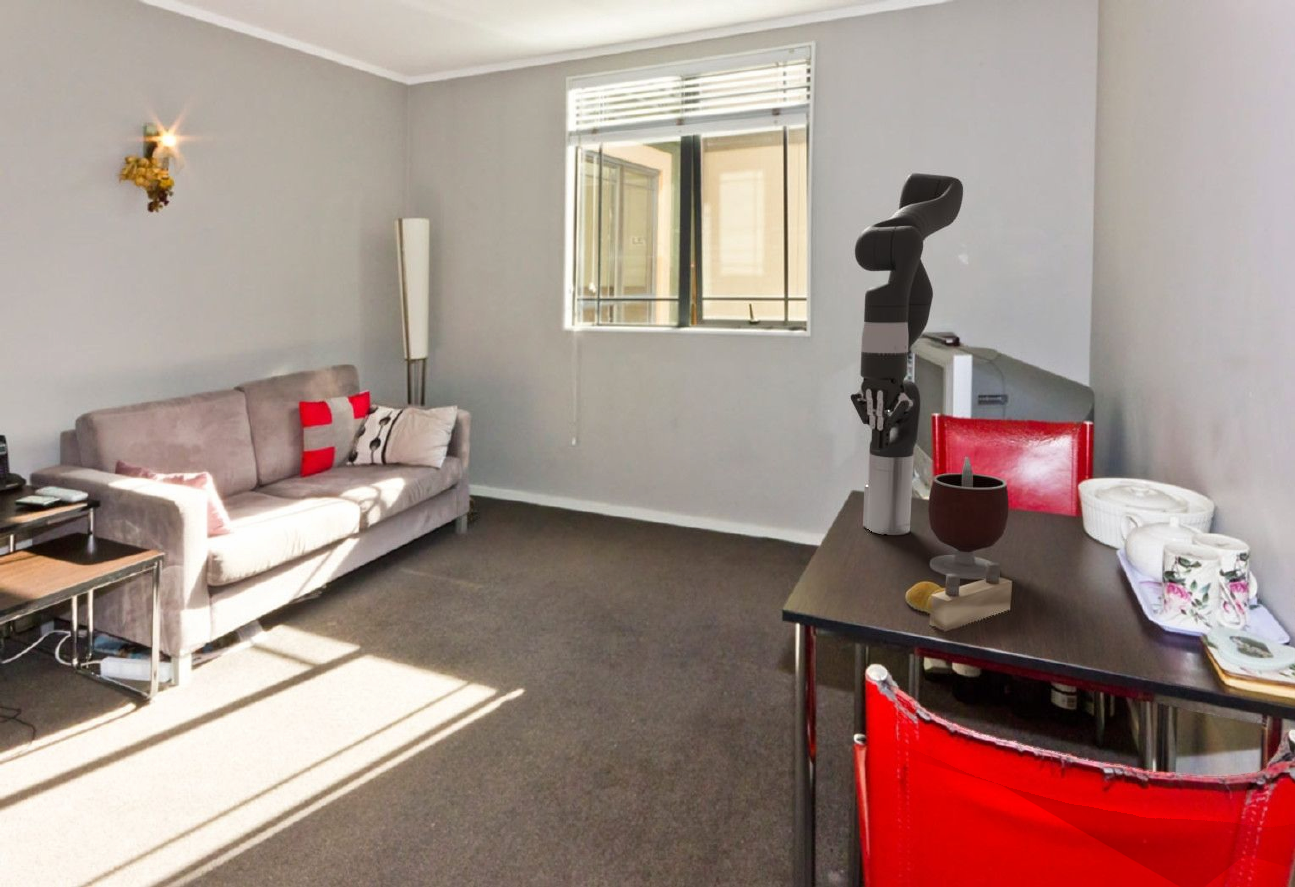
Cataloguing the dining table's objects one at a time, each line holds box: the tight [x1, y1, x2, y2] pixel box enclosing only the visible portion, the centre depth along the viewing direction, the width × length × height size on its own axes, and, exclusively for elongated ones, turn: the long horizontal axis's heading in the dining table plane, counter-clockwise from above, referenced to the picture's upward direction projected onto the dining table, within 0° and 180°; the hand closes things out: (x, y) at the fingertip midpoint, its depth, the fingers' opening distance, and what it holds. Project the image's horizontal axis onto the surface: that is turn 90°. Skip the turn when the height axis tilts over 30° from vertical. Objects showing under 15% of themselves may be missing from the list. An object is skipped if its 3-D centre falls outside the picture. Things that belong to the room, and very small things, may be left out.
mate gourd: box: [927, 456, 1010, 580], centre depth 150 cm, size 16×14×20 cm
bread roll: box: [904, 581, 946, 615], centre depth 132 cm, size 8×9×4 cm
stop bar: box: [929, 561, 1013, 632], centre depth 127 cm, size 3×16×8 cm, turn 121°
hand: (879, 450), depth 136 cm, fingers closed
